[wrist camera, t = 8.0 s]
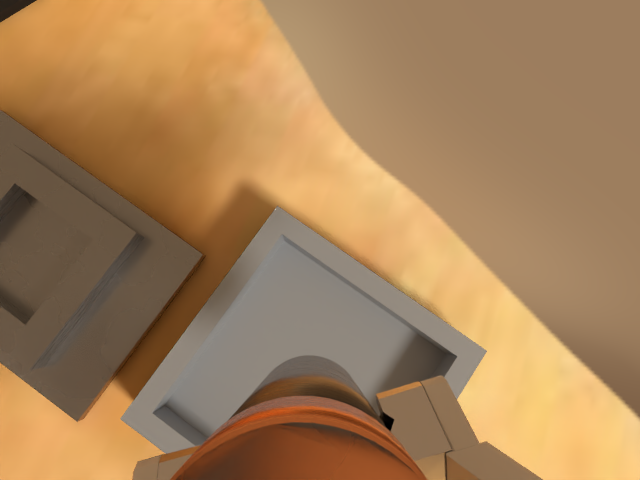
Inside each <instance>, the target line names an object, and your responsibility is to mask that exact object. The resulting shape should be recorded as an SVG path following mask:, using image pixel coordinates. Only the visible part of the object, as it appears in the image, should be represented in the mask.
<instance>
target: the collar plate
mask: <svg viewBox="0 0 640 480" xmlns="http://www.w3.org/2000/svg"><path fill="white" fill-rule="evenodd" d="M204 257H205V255H203V254H202V253H201V252H199V251H198V250H196V249H195V248H194V247H192V246H191V245H189V244H188V243H187V242H185V241H184V240H182V239H181V238H180V237H178V236H177V235H175V234H174V233H173V232H171V231H170V230H168V229H167V228H166V227H164V226H163V225H161V224H160V223H159V222H157V221H156V220H154V219H153V218H152V217H150V216H149V215H147V214H146V213H145V212H143V211H142V210H140V209H139V208H138V207H136V206H135V205H133V204H132V203H131V202H129V201H128V200H126V199H125V198H124V197H122V196H121V195H119V194H118V193H116V192H115V191H114V190H112V189H111V188H109V187H108V186H107V185H105V184H104V183H102V182H101V181H100V180H98V179H97V178H95V177H94V176H93V175H91V174H90V173H88V172H87V171H86V170H84V169H83V168H81V167H80V166H79V165H77V164H76V163H74V162H73V161H72V160H70V159H69V158H67V157H66V156H65V155H63V154H62V153H60V152H59V151H58V150H56V149H55V148H53V147H52V146H51V145H49V144H48V143H46V142H45V141H44V140H42V139H41V138H39V137H38V136H37V135H35V134H34V133H32V132H31V131H30V130H28V129H27V128H25V127H24V126H23V125H21V124H20V123H18V122H17V121H16V120H14V119H13V118H11V117H10V116H9V115H7V114H6V113H4V112H3V111H2V110H0V363H2V364H3V365H4V366H5V367H7V368H8V369H9V370H11V371H12V372H13V373H15V374H16V375H17V376H18V377H20V378H21V379H22V380H24V381H25V382H26V383H28V384H29V385H30V386H31V387H33V388H34V389H35V390H37V391H38V392H39V393H41V394H42V395H43V396H44V397H46V398H47V399H48V400H50V401H51V402H52V403H54V404H55V405H56V406H57V407H59V408H60V409H61V410H63V411H64V412H65V413H67V414H68V415H69V416H70V417H72V418H73V419H74V420H76V421H77V422H78V421H80V420H82V419H84V417H85V416H86V415H87V413H88V412H89V411H90V409H91V408H92V407H93V405H94V404H95V403H96V401H97V400H98V399H99V397H100V396H101V395H102V393H103V392H104V391H105V389H106V388H107V387H108V385H109V384H110V383H111V381H112V380H113V379H114V377H115V376H116V375H117V373H118V372H119V371H120V369H121V368H122V367H123V365H124V364H125V363H126V361H127V360H128V359H129V357H130V356H131V355H132V353H133V352H134V351H135V349H136V348H137V347H138V345H139V344H140V343H141V341H142V340H143V339H144V337H145V336H146V335H147V333H148V332H149V331H150V329H151V328H152V327H153V325H154V324H155V323H156V321H157V320H158V319H159V317H160V316H161V315H162V313H163V312H164V311H165V309H166V308H167V307H168V305H169V304H170V303H171V301H172V300H173V299H174V297H175V296H176V295H177V293H178V292H179V291H180V289H181V288H182V287H183V285H184V284H185V283H186V281H187V280H188V279H189V277H190V276H191V275H192V273H193V272H194V271H195V269H196V268H197V267H198V265H199V264H200V263H201V261H202V260H203V259H204Z"/></svg>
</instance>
